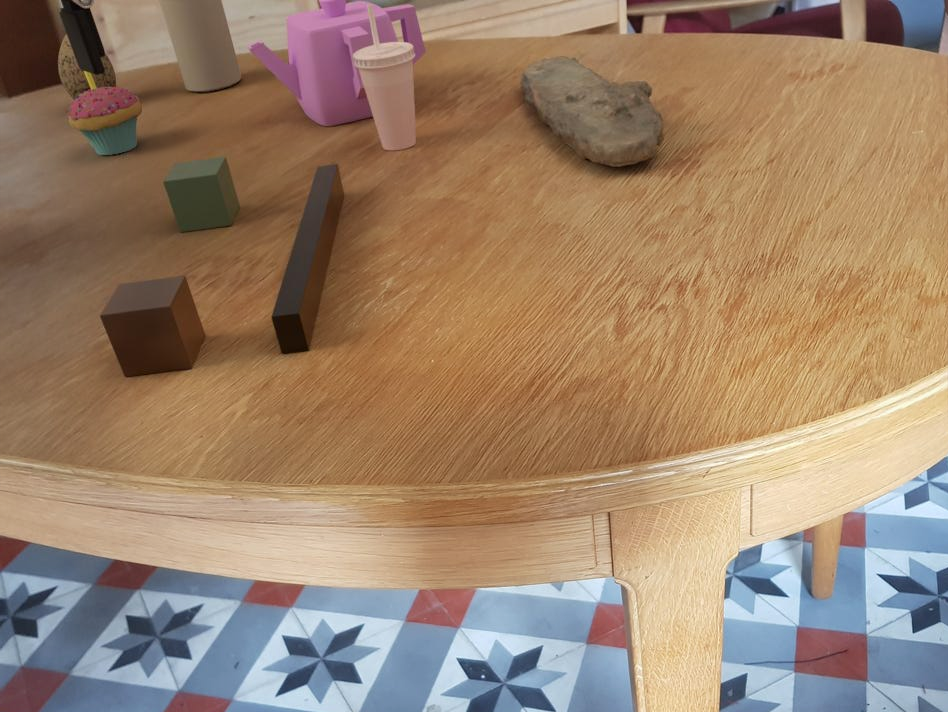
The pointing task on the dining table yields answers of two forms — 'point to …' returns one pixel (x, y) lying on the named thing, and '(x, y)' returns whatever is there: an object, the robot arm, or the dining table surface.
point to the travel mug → (202, 44)
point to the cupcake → (106, 117)
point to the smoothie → (389, 88)
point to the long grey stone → (594, 111)
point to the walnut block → (153, 326)
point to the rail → (308, 262)
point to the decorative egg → (81, 72)
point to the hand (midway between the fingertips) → (25, 91)
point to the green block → (202, 194)
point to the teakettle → (335, 56)
